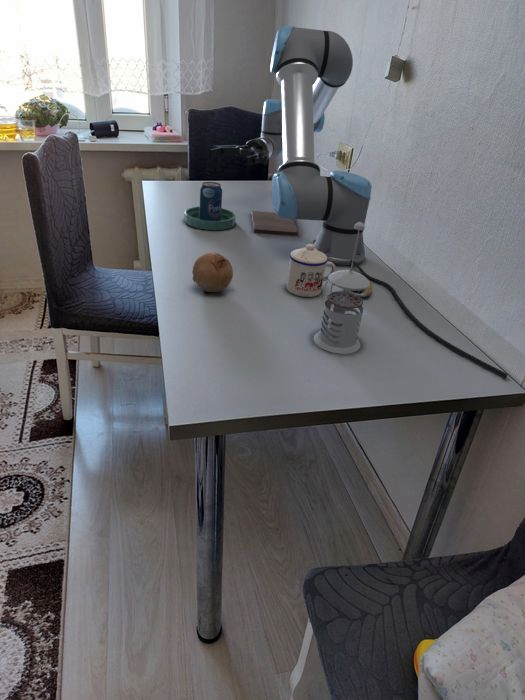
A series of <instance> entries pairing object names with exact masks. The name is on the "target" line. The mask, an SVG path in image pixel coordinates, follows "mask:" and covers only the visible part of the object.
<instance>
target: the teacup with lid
mask: <svg viewBox="0 0 525 700" xmlns="http://www.w3.org/2000/svg"><path fill="white" fill-rule="evenodd" d="M314 247H315V246H314V244H313V243H307V244H306V245H305V246H304V247H301V248H295V249H293V250H292V251H290V254H289V264H288V266H289V267H288V274H287V282H286V290H287V291H288V292H289V293H290V294H292V295H295V296H298V297H303V298H313V297H317V296H319V295H320V294H321V293H322V290H323V285H324V284H323V283H324V282H327V280H329V279H328V276H329V275H330V274H331V273H333V272H336V265H334V264H333V263H332V262H328V259H327V256H326V255H325V254H324V253H322V252H320V251H318V250H317V249H315V248H314ZM326 266H330V267H331V270H330V272H329V274H328V275H327V276H325V272H326Z"/></svg>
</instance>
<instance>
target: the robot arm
mask: <svg viewBox="0 0 525 700" xmlns="http://www.w3.org/2000/svg"><path fill="white" fill-rule="evenodd" d="M353 65H354V60H353V52H352V50H351V48H350V45H349V44H348V42H347V40H346V39H345V38H344V37H343V36H342V35H340V34H338V32H335V31H331V30H323V29H315V28H314V29H313V28H307V27H306V28H304V27H297V26H294V25H292V26H284V25H283V26H280V27H279V28H278V29H277V31H276V34H275V38H274V42H273V47H272V53H271V59H270V66H269V67H270V68H269V71H270V73H271V74H272V75H276V82H277V84H278V85H279V86H280V87H281V99H275V98H266V99H265V101H264V102H263V110H262V119H261V131H260V137H257V138H256V137H255V138H253V139H250V140H248V141H246V143H245V144H244V145H238V144H235V143H234V144H228V145H227V144H225V145H224V144H223V145H213V148H210V149H209V150H208V159H216V158H220V157H222V156H235V157H237V158H244V159H245V167H251V166H254V165H257V164H259V165H260V164H263V165H268V161H269V159H271V158H276V157H278V156H280V155H281V154H282V164H281V165H279V167H278V168H277V173H274V174H273V176H272V179H271V201H272V206H273V210H274V213H276V214H277V215H278V216H279V217H281V218H287V219H291V220H294V221H295V220H302V221H322V226H321V229H320V231H319V233H318V235H317V237H316V239H313V241H312V244H313V245H314V246H315V247H314V248H315V249H317V250H318V251H320V252H322V253H324V254H325V255H326V256H327V259H328V262H332V263H333V264H334V265H335V266H343V267H344V266H346V267H351V265H352V259H353V254H354V249H355V244H356V239H357V234H358V230H356V229H355V228H354V225H355V224H356V223H358V222H361V223H363V224H364V226H365V224H366V219H367V216H368V215H367V214H368V209H369V205H370V200H371V195H372V194H371V193H372V187H373V186H372V182H371V181H370V180H369V179H367V178H366V177H364V176H361V175H359V174H357V173H354V172H348V171H344V170H335V169H334V170H331V172H330V173H329V176H325V175H323V176H322V175H321V168H320V165H319V164H317V163H316V162H315V133H321V132H322V131H323V129H324V125H325V121H326V119H325V117H326V116H325V112H326V110H327V108H328V106H329V105H330V103H331V101H332V100H333V98H334V97H335V95H336V93H337V92H338V90H339V88H341V87H344V85H345V84H346V83H347V81H348V80H349V78H350V77H351V74H352V72H353ZM365 256H366V251H365V241H364V230H360V231H359V236H358V241H357V246H356V251H355V256H354V261H353V266H354V267H355V268H357V270H358V271H359V273H360V274H361V275H363V276H365V277H366V278H367V279H368V280H369V281H373V282H374V283H378V284H380V285H383V286H384V287H386V288H388V290H389V291H391V293H392V296H393V297H394V298H395V300H396V301H397V302H398V304H399V305H400V307H401V308H402V309H403V311H404V312H405V313H406V314H407V315H408V316H409V318H410V319H411V320H412V321H413V322H414V323H415V324H416V325H417V326H418V327H420V329H422V330H423V331H424V332H426V333H427V334H428V335H430V337H432V338H434V339H435V340H436V341H438V342H439V343H441V344H443V345H444V346H445V347H448V348H450V350H452V351H454V352H456V353H458V354H460V355H461V356H463V357H465V358H467V359H469V360H471V361H473V362H474V363H477V364H478V365H481V366H482V367H484V368H486V369H488V370H489V371H492V372H494V373H496V374H498V375H499V376H502V377H503V378H507V377H508V375H509V374H508V373H506V372H505V371H503V370H501V369H499V368H497V367H495V366H493V365H491V364H489V363H487V362H485V361H483V360H481V359H479V358H477V357H476V356H474V355H472V354H470V353H468V352H467V351H464V350H462V349H461V348H459V347H457V346H455V345H454V344H452V343H450V342H449V341H447V340H445V339H444V338H442V337H441V336H439V335H438V334H436V333H435V332H433V331H432V330H431V329H429V328H428V327H427V326H425V325H424V324H423V323H422V322H420V321H419V320H418V318H417V317H416V316H415V315H413V313H412V312H411V311H410V310H409V308H407V306H406V305H405V304H404V302H403V300H402V299H401V297H399V295H398V294H397V291H396V289H394V287H393V286H391V285H390V284H389V283H388V282H385V281H383V280H381V279H378V278H376V277H373V276H371V275H369V274H367V272H365V271H364V269H363V268H362V267H361V266H360V264H362V263H363V262H364V260H365Z"/></svg>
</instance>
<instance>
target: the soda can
mask: <svg viewBox="0 0 525 700" xmlns="http://www.w3.org/2000/svg"><path fill="white" fill-rule="evenodd" d="M222 203H223V188H222V186H221V184H220V183H219V182H216V181H203V182H202V183H201V186H200V188H199V206H200V213H199V218H200V220H206V221H220V220H221V208H222V207H223V206H222V205H223V204H222Z"/></svg>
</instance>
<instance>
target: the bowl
mask: <svg viewBox="0 0 525 700" xmlns="http://www.w3.org/2000/svg"><path fill="white" fill-rule="evenodd" d="M199 213H200V205H199V206H192V207H189V208H187V209H185V210H184V222H185V224H186V225H187V226H190V227H193V228H195V229H201V230H207V231H222V230H229V229H231V228H234V226H235V225H236V213H235V212H234V211H231V210H229V209H227V208H224V207H221V220H220V221H206V220H200V218H199Z"/></svg>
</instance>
